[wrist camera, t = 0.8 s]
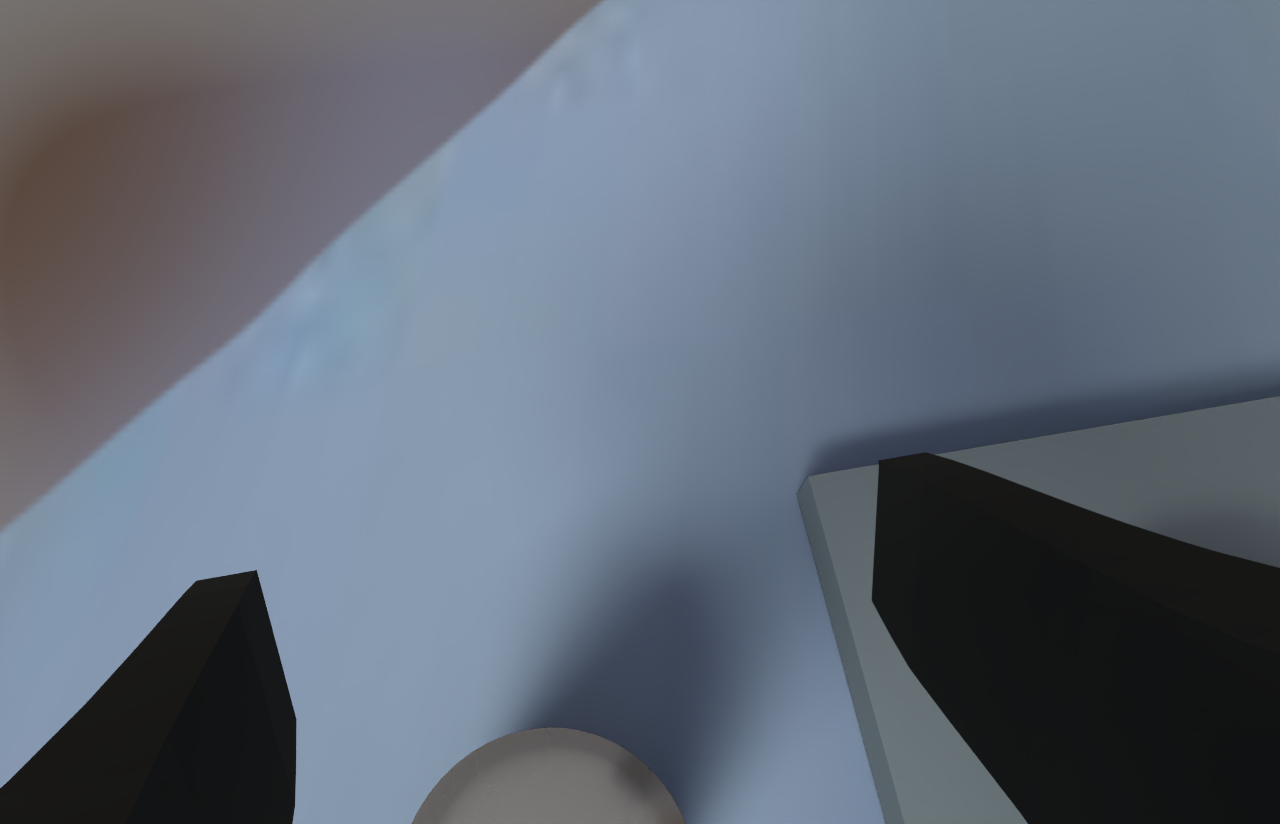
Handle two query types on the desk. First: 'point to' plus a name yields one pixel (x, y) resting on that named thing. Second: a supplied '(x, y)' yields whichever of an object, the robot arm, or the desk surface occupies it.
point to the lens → (550, 784)
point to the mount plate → (1073, 472)
